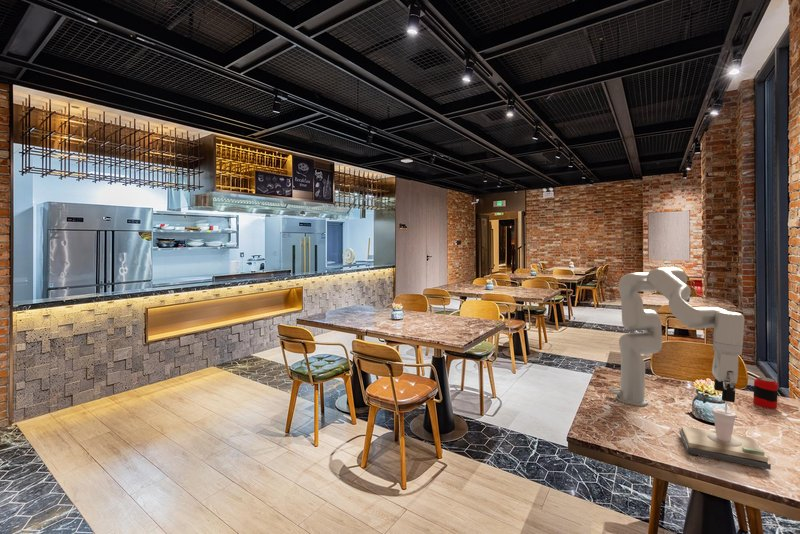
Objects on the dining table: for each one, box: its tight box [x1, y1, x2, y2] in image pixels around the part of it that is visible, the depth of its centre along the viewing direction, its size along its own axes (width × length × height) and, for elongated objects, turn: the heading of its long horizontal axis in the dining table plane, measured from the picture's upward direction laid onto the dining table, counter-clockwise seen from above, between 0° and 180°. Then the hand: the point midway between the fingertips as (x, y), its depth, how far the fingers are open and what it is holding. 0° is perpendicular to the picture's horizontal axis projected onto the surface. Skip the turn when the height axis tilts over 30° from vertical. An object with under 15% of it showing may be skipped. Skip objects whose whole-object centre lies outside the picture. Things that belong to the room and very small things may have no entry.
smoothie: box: [711, 401, 737, 442], centre depth 128 cm, size 6×6×14 cm
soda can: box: [752, 376, 779, 410], centre depth 166 cm, size 8×8×12 cm
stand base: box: [678, 428, 772, 471], centre depth 128 cm, size 21×15×3 cm
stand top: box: [680, 425, 769, 462], centre depth 128 cm, size 20×14×2 cm
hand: (723, 395), depth 128 cm, fingers open, 9 cm apart
